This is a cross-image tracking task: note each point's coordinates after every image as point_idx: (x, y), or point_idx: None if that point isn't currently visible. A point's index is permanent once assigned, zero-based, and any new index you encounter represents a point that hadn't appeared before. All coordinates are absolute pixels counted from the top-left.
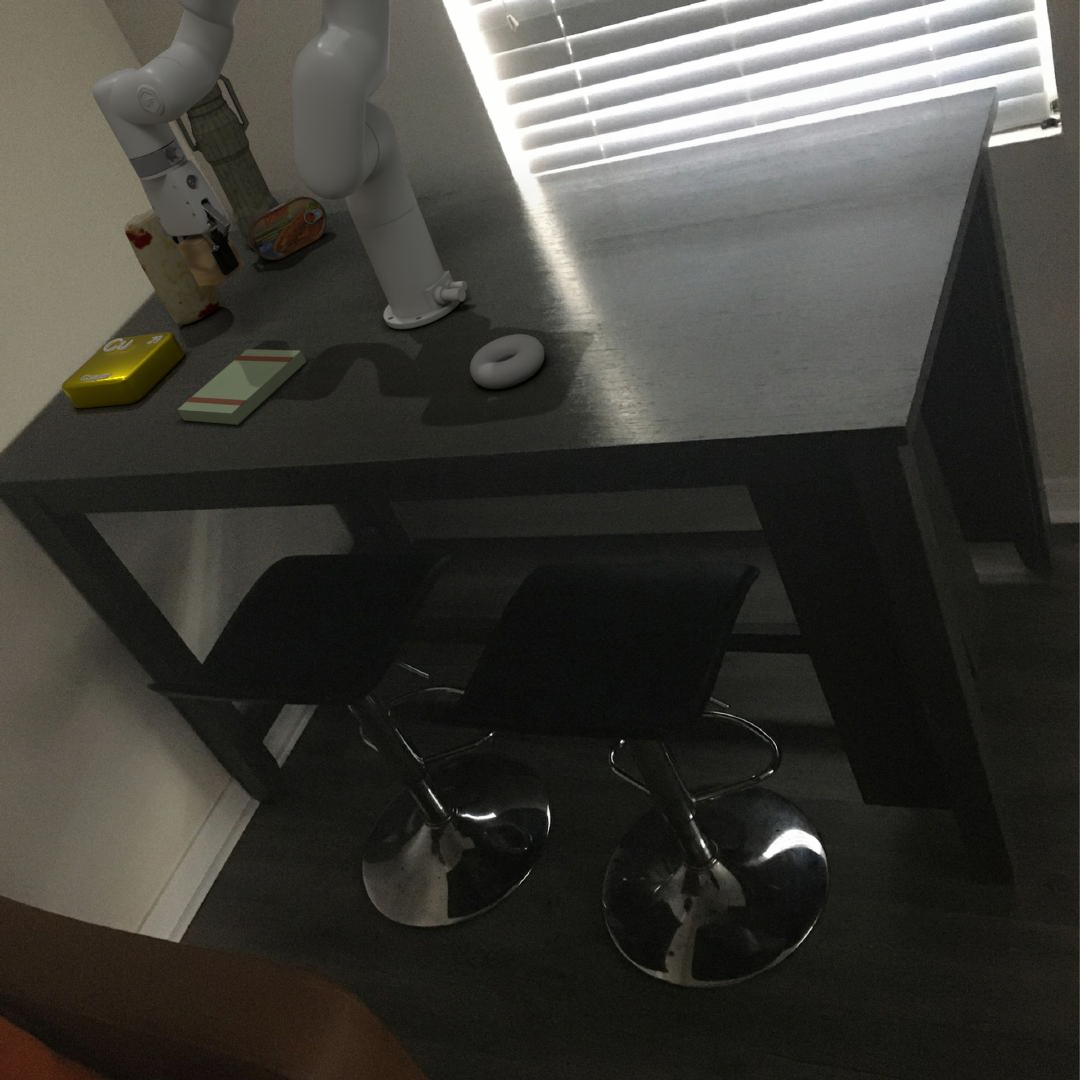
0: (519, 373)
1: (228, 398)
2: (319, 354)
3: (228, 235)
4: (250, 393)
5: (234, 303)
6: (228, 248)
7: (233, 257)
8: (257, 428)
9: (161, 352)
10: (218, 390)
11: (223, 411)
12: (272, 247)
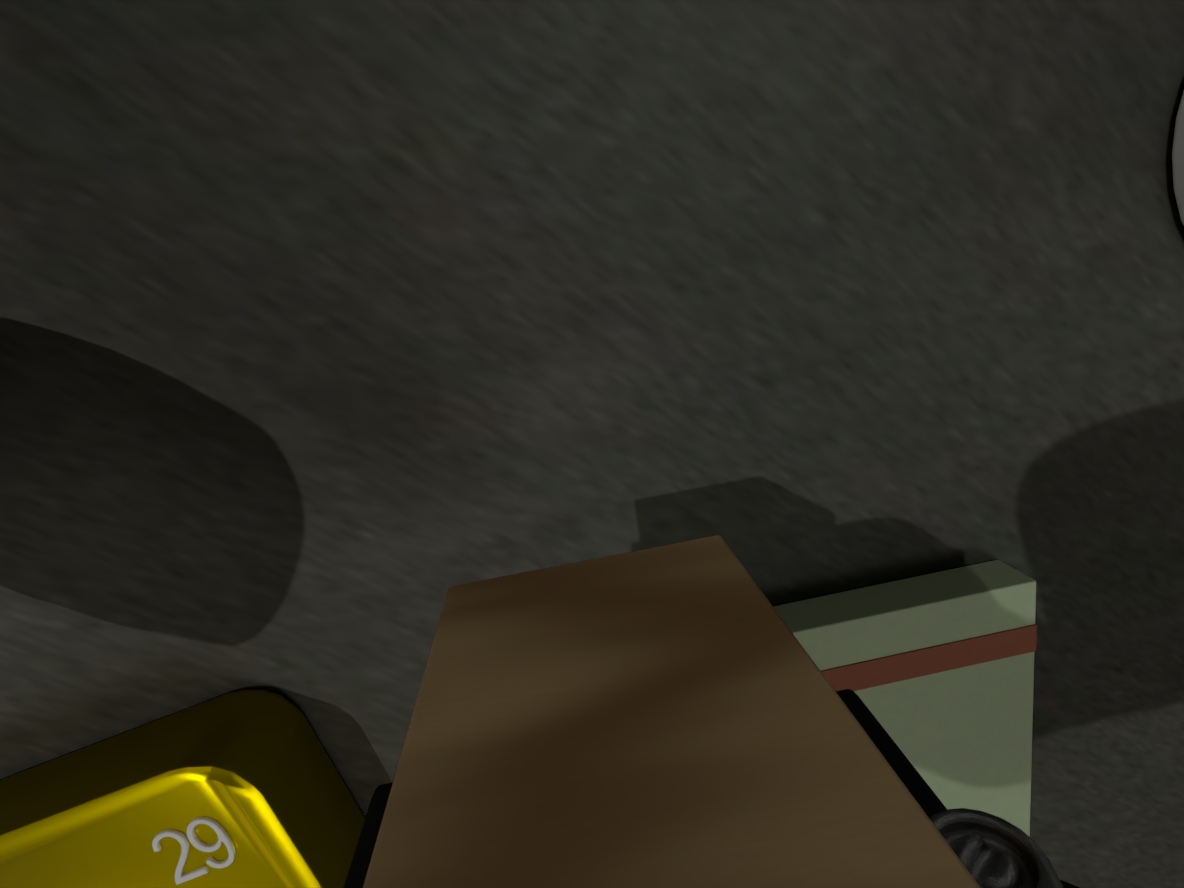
0: None
1: None
2: (1018, 508)
3: (873, 748)
4: (1017, 815)
5: (4, 266)
6: (938, 804)
7: (875, 720)
8: (1078, 842)
9: (317, 850)
10: None
11: None
12: None
